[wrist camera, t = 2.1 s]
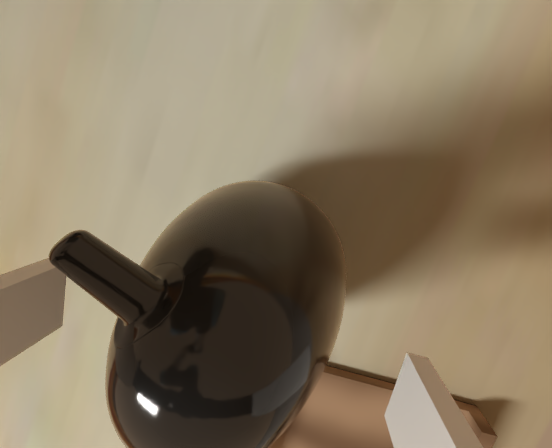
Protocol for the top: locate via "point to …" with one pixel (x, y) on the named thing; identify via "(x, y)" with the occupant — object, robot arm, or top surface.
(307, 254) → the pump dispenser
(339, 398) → the brown wooden tray
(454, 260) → the top surface
